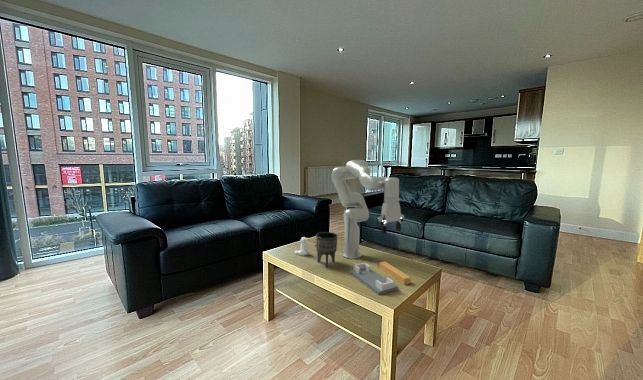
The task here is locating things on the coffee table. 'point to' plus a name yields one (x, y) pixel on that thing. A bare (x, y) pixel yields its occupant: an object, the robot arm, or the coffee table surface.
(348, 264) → the coffee table surface
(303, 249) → the sitting furry creature
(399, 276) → the slat
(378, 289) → the cap board
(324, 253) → the planter
